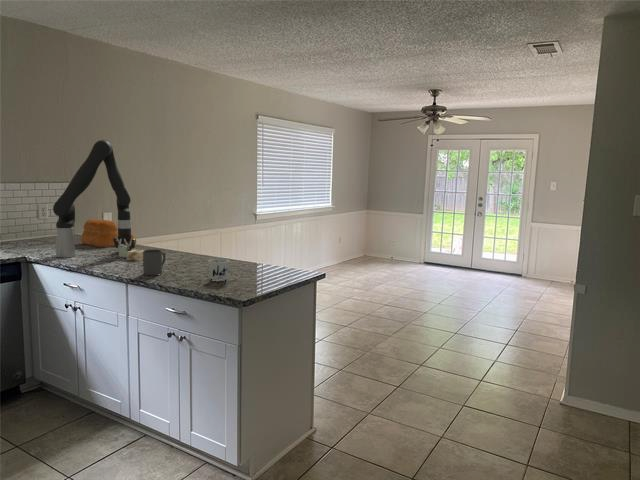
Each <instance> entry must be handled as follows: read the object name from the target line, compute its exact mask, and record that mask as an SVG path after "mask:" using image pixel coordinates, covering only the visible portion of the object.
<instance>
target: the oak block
mask: <svg viewBox="0 0 640 480" xmlns="http://www.w3.org/2000/svg"><path fill="white" fill-rule="evenodd" d="M143 251H145V249H131V251H127V257H126V260H127V261H137V262H138V261H139V262H140V261H143Z"/></svg>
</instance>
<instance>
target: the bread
mask: <svg viewBox="0 0 640 480" xmlns="http://www.w3.org/2000/svg"><path fill="white" fill-rule="evenodd" d="M114 238H118V225H117V223H115V222H114V221H113V220H107V219H98V218H96V219H95V218H94V219H93V218H92V219H88V220H86V222H84V225H83V232H82V234H81V243H82V244H84V245H87V246H94V247H97V248H111V247H115V243H114ZM118 242H119V240H118Z"/></svg>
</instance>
